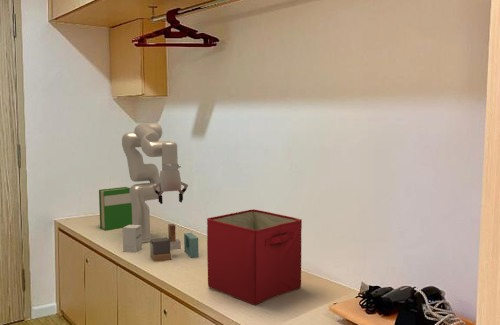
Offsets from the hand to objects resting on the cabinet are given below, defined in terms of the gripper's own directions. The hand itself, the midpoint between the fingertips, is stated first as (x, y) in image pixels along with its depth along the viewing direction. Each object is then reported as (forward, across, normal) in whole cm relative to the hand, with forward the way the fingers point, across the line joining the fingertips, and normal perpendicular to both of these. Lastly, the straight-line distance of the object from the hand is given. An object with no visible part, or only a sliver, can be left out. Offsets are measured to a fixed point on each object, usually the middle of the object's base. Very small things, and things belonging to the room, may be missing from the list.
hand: (170, 202), depth 251 cm
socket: (+27, -10, 0) cm, 29 cm away
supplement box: (+27, +16, -20) cm, 37 cm away
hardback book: (+26, +16, -76) cm, 82 cm away
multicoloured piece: (+23, +3, 0) cm, 23 cm away
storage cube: (+28, -20, +57) cm, 66 cm away
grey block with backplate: (+27, +6, 0) cm, 27 cm away
